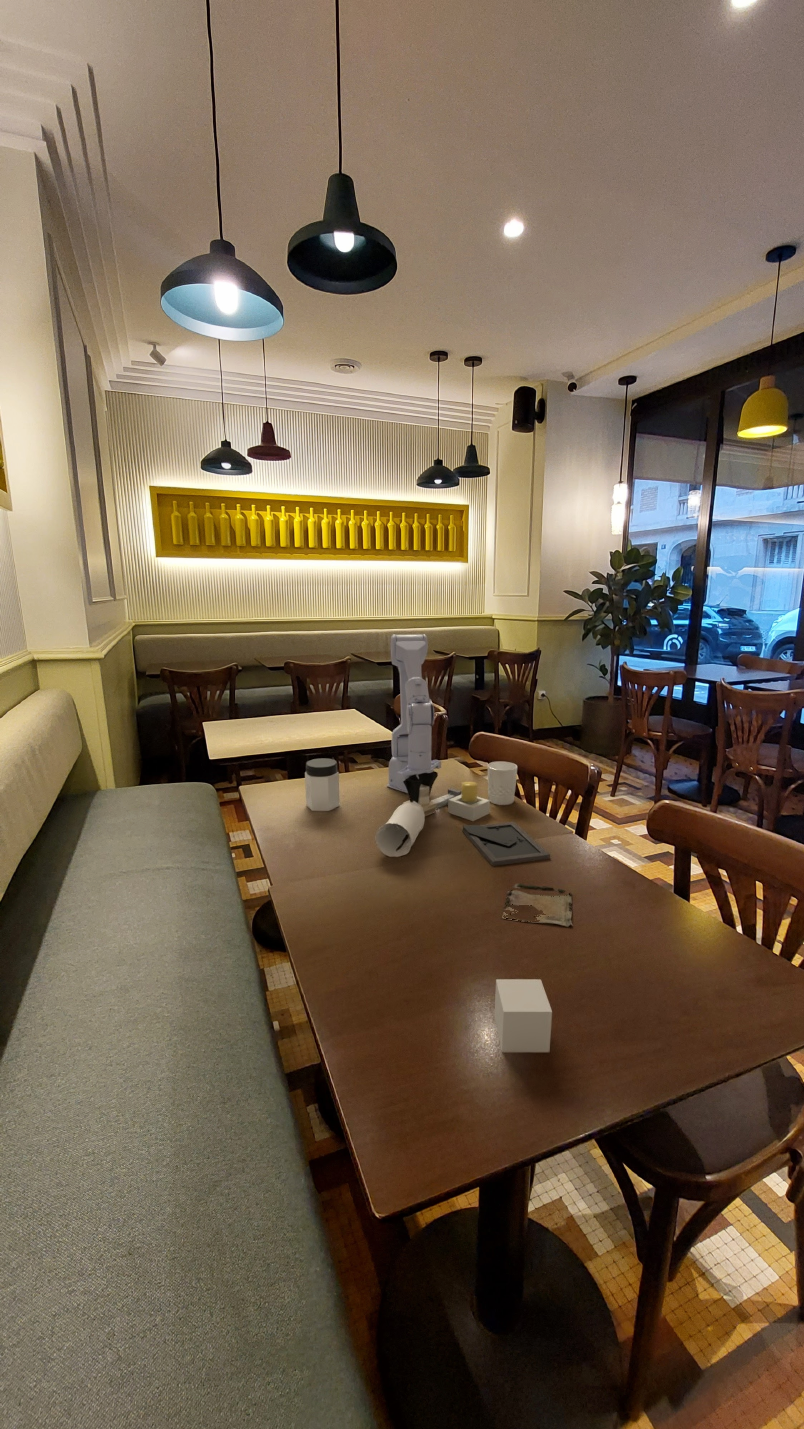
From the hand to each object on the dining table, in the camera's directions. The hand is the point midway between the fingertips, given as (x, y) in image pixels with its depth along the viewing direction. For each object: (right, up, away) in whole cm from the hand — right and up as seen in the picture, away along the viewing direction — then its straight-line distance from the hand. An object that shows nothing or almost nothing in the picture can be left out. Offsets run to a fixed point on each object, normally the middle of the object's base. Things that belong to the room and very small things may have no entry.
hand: (419, 800), depth 148 cm
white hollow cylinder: (-5, -7, -15) cm, 17 cm away
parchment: (+20, -13, -42) cm, 48 cm away
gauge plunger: (+13, 0, 0) cm, 13 cm away
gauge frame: (+13, -3, +1) cm, 13 cm away
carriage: (0, -3, +1) cm, 3 cm away
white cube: (+11, -20, -72) cm, 76 cm away
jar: (-26, -2, +6) cm, 26 cm away
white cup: (+22, -2, +9) cm, 24 cm away
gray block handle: (+3, -3, +4) cm, 6 cm away
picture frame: (+19, -8, -17) cm, 26 cm away
